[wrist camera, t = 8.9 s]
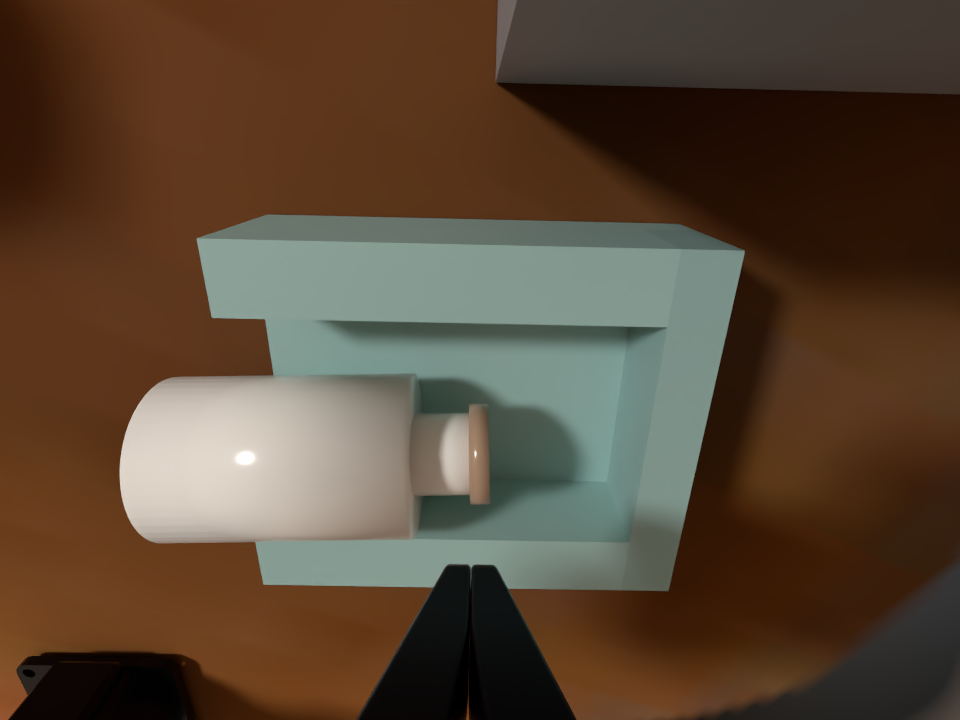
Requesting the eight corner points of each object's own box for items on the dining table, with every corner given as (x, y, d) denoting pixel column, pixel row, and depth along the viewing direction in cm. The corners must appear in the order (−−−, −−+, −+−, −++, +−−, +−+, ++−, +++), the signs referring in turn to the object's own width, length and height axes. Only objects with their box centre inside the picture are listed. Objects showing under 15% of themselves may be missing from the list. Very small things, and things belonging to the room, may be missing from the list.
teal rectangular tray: (631, 502, 19) (668, 590, 15) (306, 497, 19) (263, 584, 15) (678, 224, 15) (745, 250, 11) (267, 214, 15) (196, 238, 11)
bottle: (232, 430, 17) (487, 426, 17) (185, 566, 14) (490, 562, 14) (168, 343, 14) (486, 338, 14) (89, 500, 11) (490, 494, 11)
